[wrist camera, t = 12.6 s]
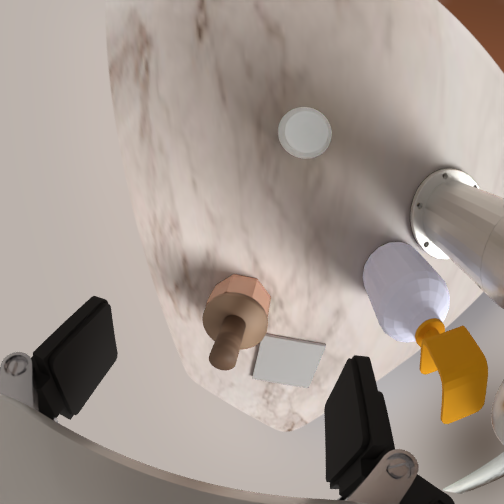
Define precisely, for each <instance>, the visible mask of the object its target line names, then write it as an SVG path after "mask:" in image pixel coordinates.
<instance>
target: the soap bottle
mask: <svg viewBox="0 0 504 504" xmlns="http://www.w3.org/2000/svg"><path fill="white" fill-rule="evenodd" d="M362 276H363V282H364V287H365V289H366V292H367V294H368V296H369V299H370V301H371V304H372V306H373V309H374V311H375V314H376V317H377V319H378V322H379V324H380V326H381V327H382V329H383V331H384V332H385V333H386V334H387V335H389V336H390V337H392V338H393V339H395V340H396V341H401V342H406V343H407V342H414V341H416V342H417V344H418V345H419V346H420V347H421V358H420V371H421V373H422V374H429V373H432V372H434V371H437V370H438V372H439V374H440V377H441V381H442V408H441V421H442V422H443V423H444V424H449V423H452V422H454V421H457V420H459V419H462V418H464V417H466V416H469V415H471V414H473V413H476V412H478V411H479V410H480V409H481V408H482V407H483V405H484V402H485V395H486V387H487V379H488V366H487V361H486V358H485V356H484V354H483V352H482V351H481V350H480V348H479V346H478V345H477V343H476V342H475V340H474V339H473V337H472V336H471V335H470V333H469V332H468V330H467V329H466V328H465V327H464V326H460V327H458V328H455V329H452V330H449V331H447V332H445V327H444V324H443V323H442V322H443V321H444V319H445V317H446V315H447V312H448V309H449V300H450V296H449V291H448V288H447V285H446V283H445V281H444V280H443V279H442V277H441V276H440V275H439V274H438V273H437V272H436V271H435V270H434V269H433V268H432V266H431V265H430V264H429V263H428V262H427V261H426V260H425V259H424V258H423V257H422V256H421V255H420V254H419V253H418V252H417V251H416V250H415V249H414V248H413V247H412V246H411V245H409V244H406V243H403V242H390V243H387V244H385V245H383V246H380V247H379V248H378V249H376V250H375V251H374V252H373V253H372V254H371V255H370V257H369V258H368V260H367V262H366V264H365V266H364V271H363V275H362Z"/></svg>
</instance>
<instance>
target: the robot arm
mask: <svg viewBox="0 0 504 504" xmlns="http://www.w3.org/2000/svg"><path fill="white" fill-rule="evenodd" d="M442 175H443V177H442ZM418 203H419V205H418V206H417V204H418ZM410 220H411V228H412V232H413V235H414V237H415V239H416V241H417V243H418V244H419V246H420V247H421V248H422V249H423V250H424V251H425V252H427V253H428V254H429V255H431V256H433V257H435V258H439V259H451V260H452V261H453V262H454V263H455V264H456V265H457V266H458V267H459V268H460V269H461V270H463V271H464V272H465V273H466V274H467V275H468V276H469V277H470V278H471V279H472V280H473V281H474V282H475V283H476V284H477V285H478V286H479V287H480V288H481V289H482V290H483V291H484V292H485V293H486V294H487V295H488V296H489V297H490V298H491V299H492V300H493V301H494V302H495V303H496V304H497V305H498V306H500V307H501V308H503V309H504V198H501V197H499V196H496V195H494V194H491V193H489V192H486V191H483V190H481V189H480V188H479V186H478V184H477V183H476V181H475V180H474V179H473V178H472V177H471V176H470V175H468V174H467V173H465V172H463V171H460V170H457V169H451V168H448V169H441V170H438V171H436V172H434V173H432V174H431V175H429V176H428V177H427V178H426V179H425V180H424V181H423V182H422V184H421V185H420V186H419V188H418V189H417V192H416V194H415V196H414V199H413V202H412V206H411V213H410ZM424 242H425V243H424ZM116 359H117V347H116V342H115V335H114V328H113V321H112V313H111V306H110V305H109V304H108V302H107V300H105V299H102V298H99V297H96V296H93V297H91V298H90V299H89V300H88V301H87V302H86V303H85V304H84V305H83V306H82V307H80V308H79V309H78V310H77V311H76V312H75V313H74V314H73V315H72V316H70V317H69V318H68V319H67V320H66V321H65V322H64V323H63V324H62V325H61V326H60V327H59V328H58V329H57V330H56V331H55V332H54V333H53V334H52V335H51V336H49V337H48V338H47V339H46V340H45V341H44V342H43V343H42V344H41V345H40V346H39V347H38V348H37V349H36V350H35V351H34V352H33V357H32V358H30V357H29V356H28V355H27V354H25V353H22V352H16V353H12V354H10V355H8V356H7V357H5V358H4V360H3V361H2V364H1V367H0V504H454V501H453V500H452V498H451V497H450V496H449V495H447V494H446V493H444V492H442V491H441V490H440V489H438V488H437V487H435V486H434V485H432V484H431V483H429V482H428V481H426V480H425V479H423V478H422V477H421V476H419V475H418V474H417V473H418V462H417V460H416V458H415V457H414V456H413V455H412V454H411V453H410V452H408V451H405V450H401V449H395V447H394V441H393V436H392V432H391V427H390V422H389V418H388V413H387V409H386V405H385V400H384V397H383V394H382V393H381V392H379V391H378V390H377V385H376V381H375V377H374V373H373V369H372V365H371V361H370V358H369V357H365V356H357V355H355V356H353V358H352V359H350V358H349V359H348V360H347V362H346V364H345V366H344V368H343V370H342V372H341V374H340V376H339V378H338V380H337V382H336V384H335V386H334V388H333V390H332V392H331V394H330V396H329V398H328V400H327V402H326V404H325V411H324V412H325V441H326V442H325V444H326V481H327V482H330V489H339V495H341V497H340V498H339V499H338V500H326V499H310V498H297V497H287V496H278V495H270V494H262V493H255V492H249V491H243V490H238V489H232V488H228V487H223V486H218V485H214V484H210V483H205V482H201V481H198V480H194V479H190V478H186V477H183V476H180V475H176V474H173V473H170V472H167V471H164V470H161V469H157V468H155V467H152V466H149V465H146V464H144V463H141V462H139V461H136V460H133V459H131V458H128V457H126V456H124V455H121V454H119V453H117V452H114V451H112V450H110V449H107V448H105V447H103V446H101V445H99V444H97V443H95V442H92V441H90V440H89V439H87V438H84V437H83V436H81V435H79V434H77V433H75V432H73V431H71V430H69V429H68V428H66V427H64V426H62V425H60V424H59V423H58V421H57V417H58V415H59V414H61V415H63V416H65V417H66V418H68V419H71V418H72V417H73V415H77V414H78V413H79V412H80V410H81V409H82V407H83V406H84V404H85V403H86V402H87V400H88V399H89V397H90V396H91V394H92V393H93V392H94V390H95V389H96V387H97V386H98V384H99V383H100V382H101V380H102V379H103V377H104V376H105V375H106V373H107V372H108V371H109V369H110V368H111V367H112V365H113V364H114V362H115V361H116ZM491 421H492V425H493V429H494V431H495V434H496V435H497V437H498V439H499V440H500V441H501V443H502V444H503V445H504V380H503V382H502V384H501V385H500V388H499V389H498V391H497V393H496V396H495V398H494V401H493V405H492V411H491Z"/></svg>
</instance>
